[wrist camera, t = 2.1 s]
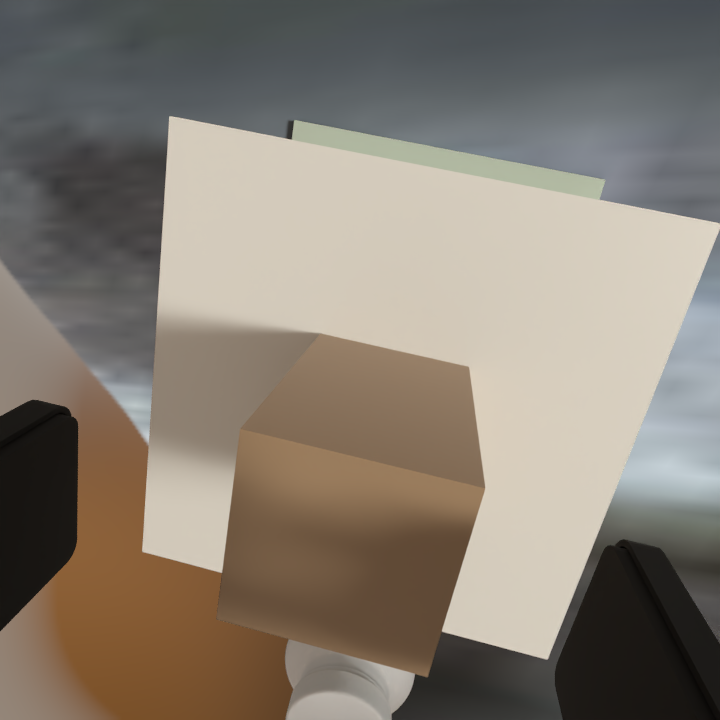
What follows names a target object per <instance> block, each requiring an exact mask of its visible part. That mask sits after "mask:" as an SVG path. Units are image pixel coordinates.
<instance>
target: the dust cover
mask: <svg viewBox="0 0 720 720" xmlns="http://www.w3.org/2000/svg"><path fill="white" fill-rule="evenodd" d="M719 229H720V223H715V222H710V221H705V220H700V219H694V218H689V217H684V216H679V215H674V214H669V213H664V212H659V211H653V210H648V209H643V208H638V207H633V206H628V205H623V204H618V203H613V202H607V201H602V200H597V199H592V198H587V197H582V196H577V195H572V194H566V193H561V192H556V191H551V190H546V189H541V188H536V187H531V186H525V185H520V184H515V183H510V182H505V181H500V180H495V179H490V178H484V177H479V176H474V175H469V174H464V173H459V172H454V171H449V170H444V169H438V168H433V167H428V166H423V165H418V164H413V163H408V162H403V161H397V160H392V159H387V158H382V157H377V156H372V155H367V154H362V153H356V152H351V151H346V150H341V149H336V148H331V147H326V146H321V145H316V144H310V143H305V142H300V141H295V140H290V139H285V138H280V137H275V136H269V135H264V134H259V133H254V132H249V131H244V130H239V129H234V128H228V127H223V126H218V125H213V124H208V123H203V122H198V121H193V120H187V119H182V118H177V117H172V116H170V117H169V133H168V149H167V165H166V181H165V197H164V213H163V229H162V245H161V260H160V276H159V292H158V308H157V324H156V340H155V356H154V372H153V388H152V404H151V420H150V436H149V452H148V468H147V484H146V500H145V515H144V532H143V533H144V534H143V547H142V552H145V553H149V554H153V555H157V556H160V557H164V558H168V559H172V560H176V561H179V562H183V563H187V564H190V565H194V566H198V567H202V568H205V569H209V570H213V571H217V572H220V573H222V578H221V586H220V594H219V602H218V610H217V618H216V619H217V620H221V621H225V622H228V623H232V624H236V625H239V626H243V627H246V628H250V629H254V630H258V631H261V632H264V633H268V634H272V635H276V636H279V637H283V638H287V639H290V640H294V641H297V642H301V643H305V644H308V645H312V646H315V647H319V648H323V649H326V650H330V651H334V652H337V653H341V654H345V655H348V656H352V657H356V658H359V659H363V660H367V661H370V662H374V663H377V664H381V665H385V666H388V667H392V668H396V669H399V670H403V671H407V672H410V673H414V674H418V675H421V676H425V677H428V674H429V671H430V668H431V665H432V661H433V658H434V655H435V652H436V648H437V645H438V642H439V638H440V635H441V632H445V633H449V634H453V635H456V636H460V637H464V638H468V639H471V640H475V641H479V642H483V643H486V644H490V645H494V646H498V647H501V648H505V649H509V650H513V651H516V652H520V653H524V654H528V655H531V656H535V657H539V658H543V659H546V660H548V657H549V655H550V652H551V650H552V647H553V645H554V642H555V640H556V637H557V635H558V632H559V630H560V627H561V625H562V622H563V620H564V617H565V615H566V612H567V610H568V607H569V605H570V602H571V600H572V597H573V595H574V592H575V590H576V587H577V585H578V582H579V580H580V577H581V575H582V572H583V570H584V567H585V565H586V562H587V560H588V557H589V555H590V552H591V550H592V547H593V545H594V542H595V540H596V537H597V535H598V532H599V530H600V527H601V525H602V522H603V520H604V517H605V515H606V512H607V510H608V507H609V505H610V502H611V500H612V497H613V495H614V492H615V490H616V487H617V485H618V482H619V480H620V477H621V475H622V472H623V470H624V467H625V465H626V462H627V460H628V457H629V455H630V452H631V450H632V447H633V445H634V442H635V440H636V437H637V435H638V432H639V430H640V427H641V425H642V422H643V420H644V417H645V415H646V412H647V410H648V407H649V405H650V402H651V400H652V397H653V394H654V392H655V389H656V387H657V384H658V382H659V379H660V377H661V374H662V372H663V369H664V367H665V364H666V362H667V359H668V357H669V354H670V352H671V349H672V347H673V344H674V342H675V339H676V337H677V334H678V332H679V329H680V327H681V324H682V322H683V319H684V317H685V314H686V312H687V309H688V307H689V304H690V302H691V299H692V297H693V294H694V292H695V289H696V287H697V284H698V282H699V279H700V277H701V274H702V272H703V269H704V267H705V264H706V262H707V259H708V257H709V254H710V252H711V249H712V247H713V244H714V242H715V239H716V237H717V234H718V232H719Z"/></svg>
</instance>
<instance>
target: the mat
mask: <svg viewBox="0 0 720 720" xmlns="http://www.w3.org/2000/svg"><path fill="white" fill-rule="evenodd" d="M292 140H295V141H300V142H305V143H310V144H316V145H321V146H326V147H331V148H336V149H341V150H346V151H351V152H356V153H362V154H367V155H372V156H377V157H382V158H387V159H392V160H397V161H403V162H408V163H413V164H418V165H423V166H428V167H433V168H438V169H444V170H449V171H454V172H459V173H464V174H469V175H474V176H479V177H484V178H490V179H495V180H500V181H505V182H510V183H515V184H520V185H525V186H531V187H536V188H541V189H546V190H551V191H556V192H561V193H566V194H572V195H577V196H582V197H587V198H592V199H597V200H599V199H600V195H601V192H602V189H603V186H604V183H605V180H603V179H598V178H593V177H588V176H583V175H577V174H572V173H567V172H562V171H557V170H551V169H546V168H541V167H536V166H531V165H525V164H520V163H515V162H510V161H505V160H499V159H494V158H489V157H484V156H479V155H473V154H468V153H463V152H458V151H452V150H447V149H442V148H437V147H432V146H426V145H421V144H416V143H411V142H406V141H400V140H395V139H390V138H385V137H380V136H374V135H369V134H364V133H359V132H354V131H348V130H343V129H338V128H333V127H328V126H322V125H317V124H312V123H307V122H301V121H296V120H294V127H293V134H292Z"/></svg>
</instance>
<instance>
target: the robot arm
mask: <svg viewBox="0 0 720 720" xmlns="http://www.w3.org/2000/svg"><path fill="white" fill-rule="evenodd" d="M77 480H78V422H77V420H76V419H75V418H74V417H71V413H70V411H69V409H68V408H66V407H64V406H60V405H55V404H51V403H47V402H43V401H39V400H31V401H28V402H26V403H24V404H22V405H20V406H19V407H17V408H15V409H13V410H11V411H9V412H7V413H6V414H4V415H2V416H0V631H1V630H2V629H3V628H4V627H5V626H6V625H7V624H8V623H9V622H10V621H11V619H13V618H14V617H15V615H17V614H18V613H19V611H20V610H21V609H22V608H23V607H24V606H25V605H26V604H27V603H28V602H29V601H30V600H31V599H32V598H33V597H34V596H35V595H36V594H37V593H38V592H39V591H40V590H41V589H42V588H43V587H44V586H45V585H46V584H47V583H48V582H49V581H50V580H51V579H52V578H53V577H54V576H55V574H56V573H57V572H58V571H59V570H60V569H61V568H62V567H63V566H64V565H65V564H66V563H67V562H68V561H69V559H70V558H71V556H72V555H73V552H74V550H75V547H76V543H77V487H78V485H77V484H78V481H77ZM555 687H556V692H557V696H558V700H559V705H560V709H561V713H562V717H563V720H720V644H719V642H718V640H717V639H716V637H715V636H714V634H713V632H712V631H711V629H710V627H709V626H708V624H707V622H706V621H705V619H704V618H703V616H702V614H701V613H700V611H699V609H698V608H697V606H696V605H695V603H694V601H693V600H692V598H691V596H690V595H689V593H688V591H687V590H686V588H685V587H684V585H683V583H682V582H681V580H680V578H679V577H678V575H677V573H676V572H675V570H674V569H673V567H672V565H671V564H670V562H669V560H668V559H667V557H666V556H665V554H664V552H663V551H662V550H661V549H660V548H657V547H654V546H649V545H645V544H641V543H637V542H632V541H628V540H624V539H623V540H620V541H619V542H618V543H617V544H616V546H611V545H609V546H607V547H606V548H605V549H604V551H603V553H602V555H601V558H600V560H599V563H598V565H597V568H596V570H595V572H594V575H593V577H592V580H591V582H590V585H589V587H588V589H587V592H586V594H585V597H584V599H583V602H582V604H581V606H580V609H579V611H578V614H577V616H576V619H575V621H574V623H573V626H572V628H571V631H570V633H569V636H568V638H567V640H566V643H565V645H564V648H563V650H562V653H561V655H560V657H559V660H558V662H557V666H556V671H555Z"/></svg>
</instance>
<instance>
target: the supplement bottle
mask: <svg viewBox="0 0 720 720" xmlns="http://www.w3.org/2000/svg"><path fill="white" fill-rule="evenodd" d="M285 666H286V671H287V676H288V678H289V681H290V683H291V686H292V688H293V689H294V690H293V692H292V695H291V699H290V703H289V707H288V710H287V714H286V720H391V718H392V715H391V714H392V713H393V712H394V711H396V710H397V709H398V708H399V707H400V706H401V705H402V704H403V703H404V701H405V700H406V698H407V697H408V695H409V693H410V691H411V689H412V686H413V682H414V677H415V674H414V673H410V672H407V671H403V670H399V669H396V668H392V667H388V666H385V665H381V664H377V663H374V662H370V661H367V660H363V659H359V658H356V657H352V656H348V655H345V654H341V653H337V652H334V651H330V650H326V649H323V648H319V647H315V646H312V645H308V644H305V643H301V642H297V641H294V640H290V639H289V640H288V643H287V647H286V653H285Z"/></svg>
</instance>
